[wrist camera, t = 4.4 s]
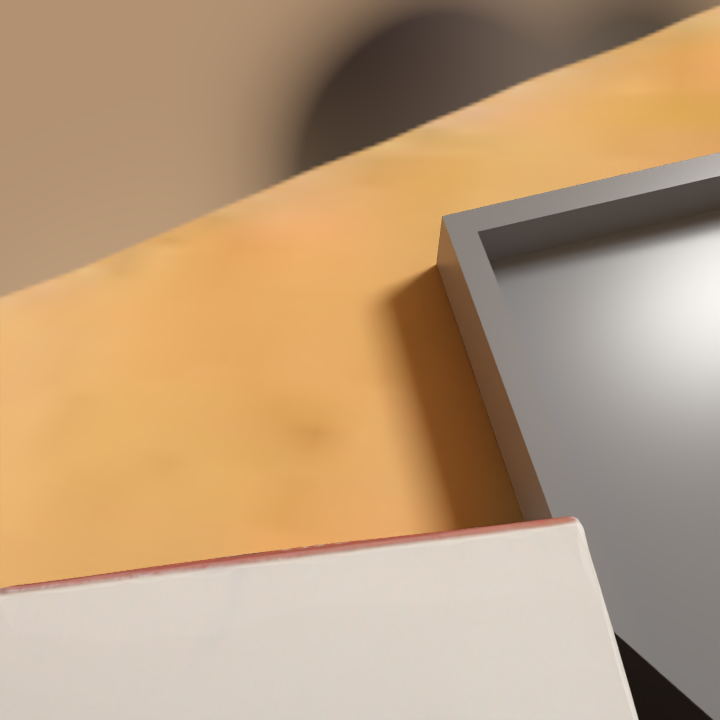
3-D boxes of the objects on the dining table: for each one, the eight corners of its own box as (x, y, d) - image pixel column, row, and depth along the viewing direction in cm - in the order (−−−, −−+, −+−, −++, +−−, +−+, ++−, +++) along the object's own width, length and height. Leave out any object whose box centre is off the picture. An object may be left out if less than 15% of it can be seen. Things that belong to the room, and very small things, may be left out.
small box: (475, 538, 15) (602, 505, 6) (516, 748, 13) (835, 1273, 4) (238, 566, 16) (-23, 579, 6) (239, 776, 13) (-175, 1335, 4)
